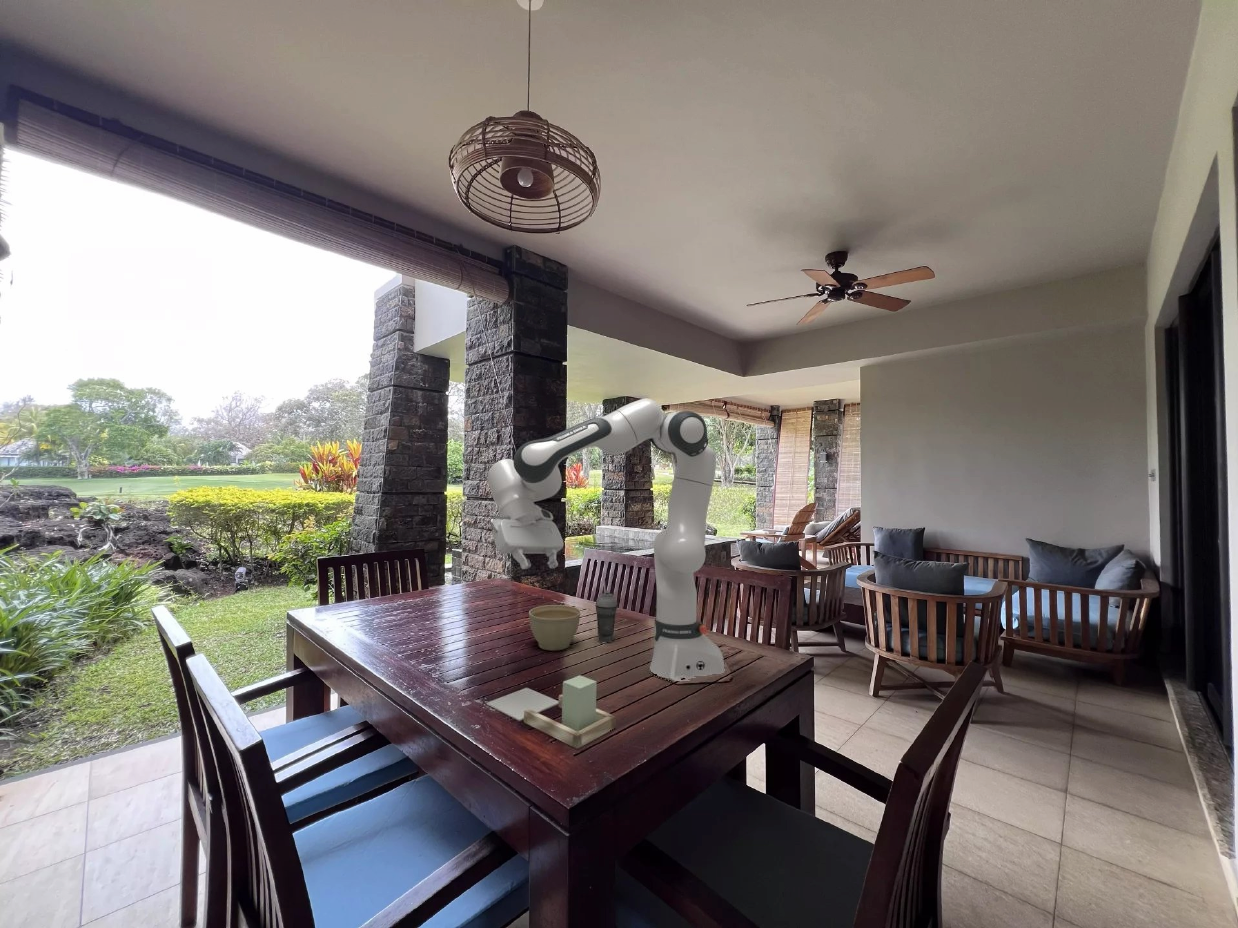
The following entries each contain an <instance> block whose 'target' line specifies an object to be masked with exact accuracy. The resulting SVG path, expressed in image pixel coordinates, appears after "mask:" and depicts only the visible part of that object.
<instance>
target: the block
mask: <svg viewBox="0 0 1238 928" xmlns="http://www.w3.org/2000/svg"><path fill="white" fill-rule="evenodd" d="M597 684H598V683H597V681H596V680H594V679H591V678H588V677H586V676H582V675H580V674H579V675H577V676H574V677H572V678H570V679H567V680H564V681H563V682H562V694H563V698H562V708H561V709H562V710H561V724H562V725H564V726H566V727H569V728H571V729H573V730H575V731H577V732H578V731H580V730H582V729H584V728H586V727H588V726H590V725H592V724H594V723H595V722H596V708H597Z"/></svg>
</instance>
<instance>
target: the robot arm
mask: <svg viewBox="0 0 1238 928" xmlns="http://www.w3.org/2000/svg"><path fill="white" fill-rule="evenodd" d="M644 441H649V442H651V445H653V446H654V447H655V448H656V449H658V450H659V451H661V452H664V453H675V456H676V466H677V467H676V469H675V473H674V477H673V480H672V485H671V488H670V489H671V490H670V493H669V498H668V502H667V521H666V522H667V523H666V529H663V530H661V531H660V532H659V533H657V534H656V535H655V538H654V540H653V555H654V556H653V558H654V559H653V560H654V573H655V574H654V575H655V583H656V617H655V618H654V626H653V630H654V631H653V637H654V646H653V653H652V658H651V662H650V665H649V668H650V670H651V672H653V673H654V674H657V675H658V676H662V677H665V678H670V679H672V680H674V681H690V680H688V679H691V678H696V677H694V676H707V675H712V674H722V673H724V671H725V669H724V663H725V662H724V655H723V653H722V651H721V649H720V648H719V647H718V646H717V644H715V643H714V642H713V641H712V640H710V639H709V637H707V636H706V635H705V634H707V633H708V628H707V626H706V625H704V623H703V622H701V620H699V619H697V607H698V606H697V601H698V599H697V598H698V596H697V594H698V593H697V587H696V584H695V577H694V576H695V575H694V573H696V572H697V571H699V570H700V569H701V568H702V566H704V564H705V562H706V556H707V555H706V548H705V547H706V546H705V542H706V528H707V514H708V509H709V505H710V499H711V496H712V491H713V487H714V483H715V482H714V481H715V476H716V467H717V454H716V452H715V450H714V449H713V448H712V447H710V446H709V445H708V444H709V439H708V428H707V424H706V421H705V419H704V418H703V416H701V415H700V414H698V413H697V412H694V411H690V410H682V411H674V412H670V413H665V412H664V411H663V410H662V409H661V407H660V405H659V404H658V403H657V402H656V401H654V400H653V399H651V398H646V397H645V398H641V399H639V400H636V401H633V402H630V403H628V404H626V405H623V406H621V407H620V408H617V409H616V410H614V411H612V412H610V413H608V414H606V415H604V416H602V417H594V418H590V419H587V420H585V421H583V422H581V423H579V424H576V425H573V426H571V427H569V428H567V429H564V430H563V431H560V432H558V433H555V434H553V435H551V436H548V437H544V438H540V439H535V440H530V441H526V442H525V443H524V444H522V445H521V446H520V447H519V448H517V450H516V452H515V453H514V456H513V459H511V458H503V459H501V460H499V461H497V462H495V463H494V464H493V465H492V466H491V467H490V468H489V470H488V473H487V482H488V486H489V489H490V492H491V493H490V494H491V495H492V498H493V501H494V502H495V504H496V505H497V507H498V514H499V515H494V516H493V517H492V518H491V519H490V526H491V528H492V536H493V541H494V543H495V544H494V545H495V548H496V549H497V551H498V552H499V553H500V554H510V555H512V557H513V559H515V561H517V563H518V564H519V565H520V568H521V569H522V570H528V569H530V568H531V566H532V563H531V561H530V559H529V558H526V556H525V555H527V554H545V555H546V557H547V558H548V561H547V563H546V564H547V566H548V567H549V569H555V568H557V567H559V562H558V560H557V553H558V552H559V551H561V550H562V549H563V548H564V540H563V538H562V534H561V532H560V531H559V529H558V526H557V525H556V523H555V522H553V520H554V516H553V514H552V513H551V512H550V511H548V510H546V509H543V508H542V507H540V506H539V505H537V504H535V503H536V502H540V501H543V500H547V499H550V498H552V497H554V496H555V495H557V494H558V492H559V491H560V490H561V488H562V483H563V479H562V475H561V472H560V469H559V464H560V463H561V462H562V461H563V460H564V459H566V458H568V457H571V456H573V455H575V454H577V453H579V452H581V451H583V450H585V449H588V448H592V447H595V448H598V449H600V450H601V451H602V452H604V453H605V454H607V455H611V456H618V455H622V454H623V453H626V452H629V451H630V450H632V449H633V448H635V447H637V446H638V445H640V444H642V443H643V442H644ZM524 554H525V555H524ZM650 670H649V671H650ZM651 672H650V673H651ZM681 678H685V679H686V680H681Z"/></svg>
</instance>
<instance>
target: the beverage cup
mask: <svg viewBox="0 0 1238 928" xmlns="http://www.w3.org/2000/svg"><path fill="white" fill-rule="evenodd" d="M602 581H603V593H601V594H600V595H599V596H598V597H597V599H596V600H595V601H596V602H595V605H594V606H595V612H596V620H597V621H596V623H597V624H596V625H597V636H598V637H597V638H598V642H599V641H601V642H610V641H612V642H613V640H614V639H613V638H614V632H615V631H614V630H615V622H616V614H617V609H618V601H617V599H616V597H615V596H614V594H613V593H610V592H606V590H607V589H606V579H605V578H603V580H602Z"/></svg>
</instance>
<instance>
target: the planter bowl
mask: <svg viewBox="0 0 1238 928" xmlns="http://www.w3.org/2000/svg"><path fill="white" fill-rule="evenodd" d="M581 613H582V612H581V610H580V609H579V608H578V607H575V606H571V605H563V604H550V605H541V606H536V607H534V608H531V609H530V610H529V612H528V616H529V626H530V629H531V632H532V634H533V636H534V639H535V640H536V641H537V643H538V646H539V648H541V649H542V650H546V651H557V652H558V651H561V650H565V649H567V648H569V647H570V644H571V642H572V640H573V639H574V637H575V636H576V634H577V632H578V628H579V626H580V618H581Z"/></svg>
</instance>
